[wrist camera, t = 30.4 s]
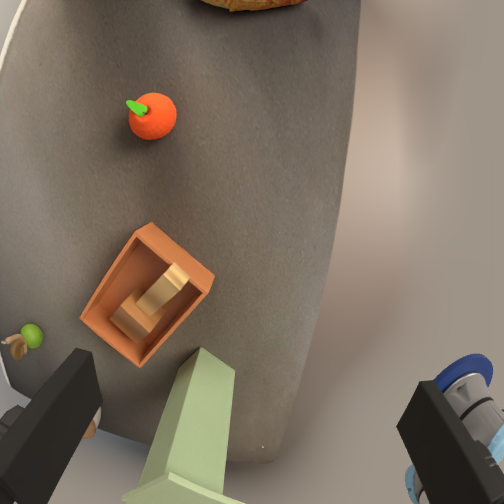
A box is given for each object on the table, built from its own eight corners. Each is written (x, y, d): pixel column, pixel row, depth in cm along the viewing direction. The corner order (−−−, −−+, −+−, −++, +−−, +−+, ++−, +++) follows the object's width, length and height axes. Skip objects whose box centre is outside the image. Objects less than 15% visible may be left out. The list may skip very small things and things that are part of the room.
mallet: (166, 253, 40) (146, 275, 36) (198, 284, 41) (181, 308, 37) (125, 300, 49) (109, 319, 45) (151, 323, 50) (136, 343, 46)
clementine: (126, 125, 42) (105, 119, 35) (150, 88, 40) (133, 76, 33) (164, 149, 43) (148, 147, 36) (190, 111, 41) (178, 102, 34)
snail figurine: (43, 318, 52) (11, 345, 40) (49, 343, 53) (20, 372, 42) (26, 313, 51) (-6, 338, 40) (32, 338, 53) (3, 365, 42)
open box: (151, 221, 46) (135, 230, 39) (215, 275, 48) (208, 292, 41) (96, 301, 50) (78, 318, 43) (151, 347, 52) (140, 368, 46)
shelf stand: (208, 330, 51) (167, 478, 22) (252, 362, 52) (247, 510, 23) (170, 368, 53) (120, 500, 24) (211, 396, 55) (188, 529, 26)
